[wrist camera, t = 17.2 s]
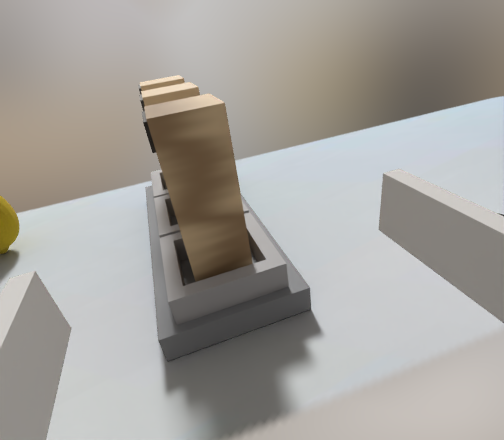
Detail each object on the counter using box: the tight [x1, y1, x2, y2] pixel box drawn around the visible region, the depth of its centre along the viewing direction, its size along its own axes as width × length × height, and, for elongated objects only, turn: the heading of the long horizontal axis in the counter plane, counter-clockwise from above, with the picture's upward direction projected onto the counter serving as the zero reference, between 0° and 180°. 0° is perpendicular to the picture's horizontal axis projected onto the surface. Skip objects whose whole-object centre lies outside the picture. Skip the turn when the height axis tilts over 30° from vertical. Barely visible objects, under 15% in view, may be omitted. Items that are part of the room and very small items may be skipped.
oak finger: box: [142, 94, 253, 282], centre depth 21 cm, size 4×4×12 cm
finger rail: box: [139, 75, 311, 361], centre depth 28 cm, size 10×25×14 cm, turn 18°
